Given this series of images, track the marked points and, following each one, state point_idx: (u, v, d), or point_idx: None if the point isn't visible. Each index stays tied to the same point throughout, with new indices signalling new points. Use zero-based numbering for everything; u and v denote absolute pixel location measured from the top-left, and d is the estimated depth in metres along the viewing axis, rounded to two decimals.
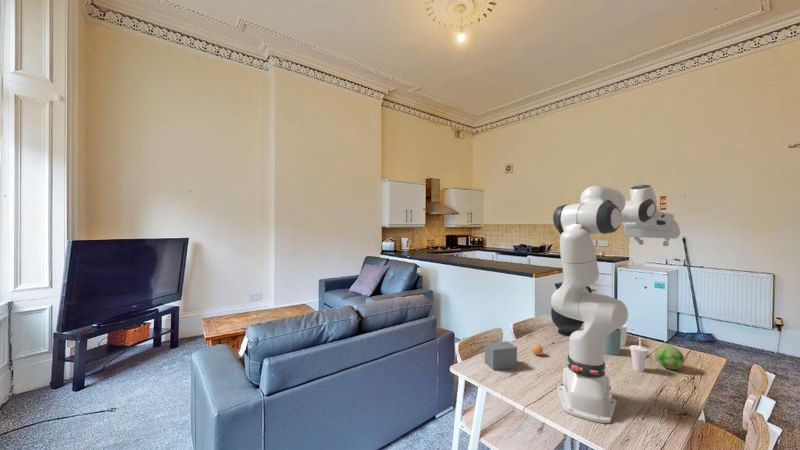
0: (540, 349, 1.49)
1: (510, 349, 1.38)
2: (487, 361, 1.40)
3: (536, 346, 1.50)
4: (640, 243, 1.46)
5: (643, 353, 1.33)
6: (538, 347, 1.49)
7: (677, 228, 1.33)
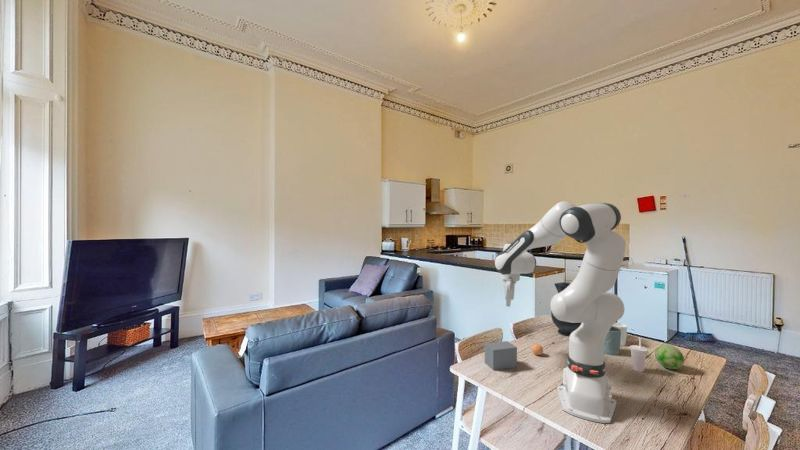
0: (540, 349, 1.49)
1: (510, 349, 1.38)
2: (487, 361, 1.40)
3: (536, 346, 1.50)
4: None
5: (643, 353, 1.33)
6: (538, 347, 1.49)
7: None
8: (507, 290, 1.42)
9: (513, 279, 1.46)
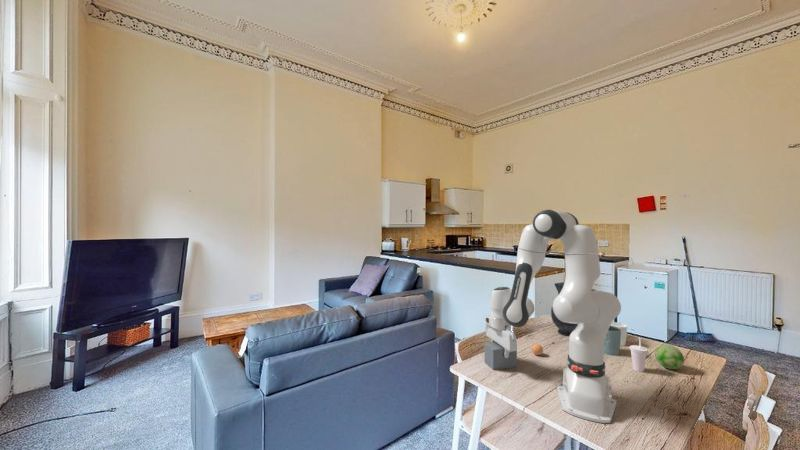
0: (540, 349, 1.49)
1: None
2: (487, 361, 1.41)
3: (536, 346, 1.50)
4: None
5: (643, 353, 1.33)
6: (538, 347, 1.49)
7: None
8: (510, 342, 1.31)
9: (508, 327, 1.37)
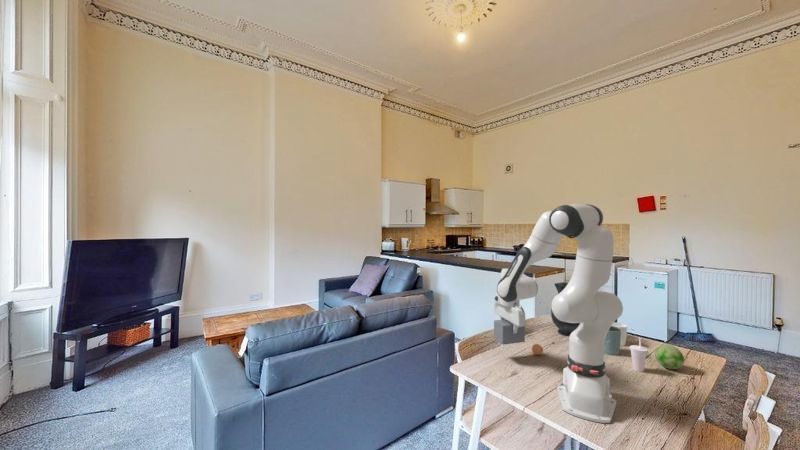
0: (540, 349, 1.49)
1: None
2: (496, 337, 1.47)
3: (536, 346, 1.50)
4: None
5: (643, 353, 1.33)
6: (538, 347, 1.49)
7: None
8: (519, 317, 1.38)
9: None
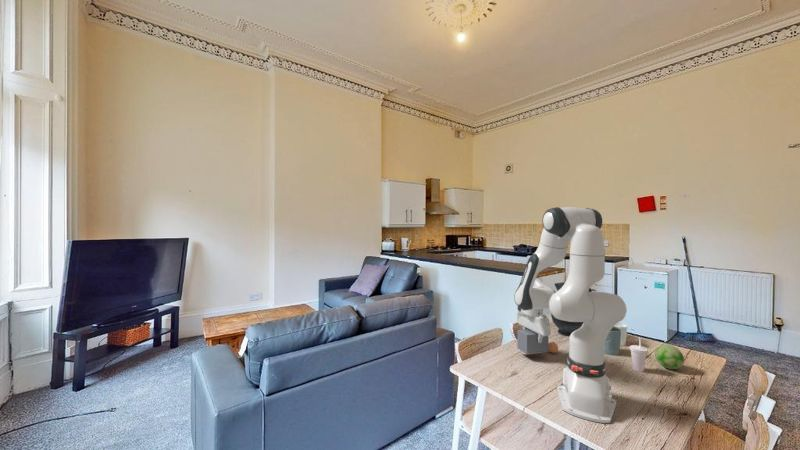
0: (555, 351, 1.51)
1: None
2: (520, 346, 1.49)
3: None
4: None
5: (643, 353, 1.33)
6: (555, 352, 1.52)
7: None
8: (545, 327, 1.40)
9: (541, 314, 1.46)
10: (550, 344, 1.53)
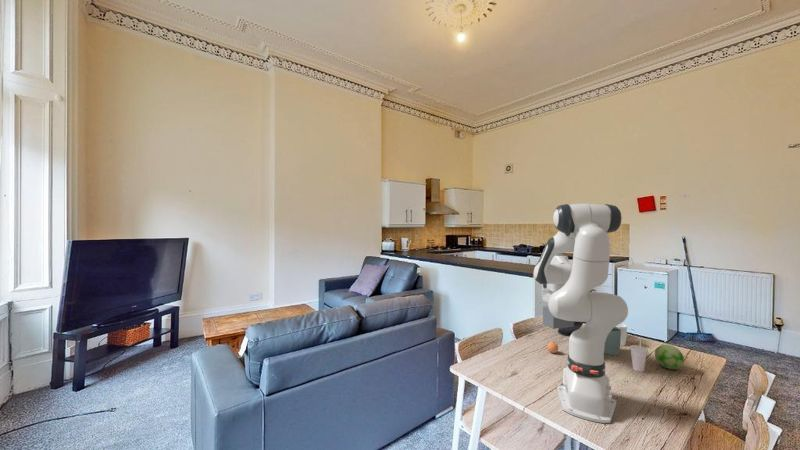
0: (555, 351, 1.51)
1: None
2: (546, 322, 1.54)
3: None
4: None
5: (643, 353, 1.33)
6: (555, 352, 1.52)
7: None
8: None
9: None
10: (550, 344, 1.53)
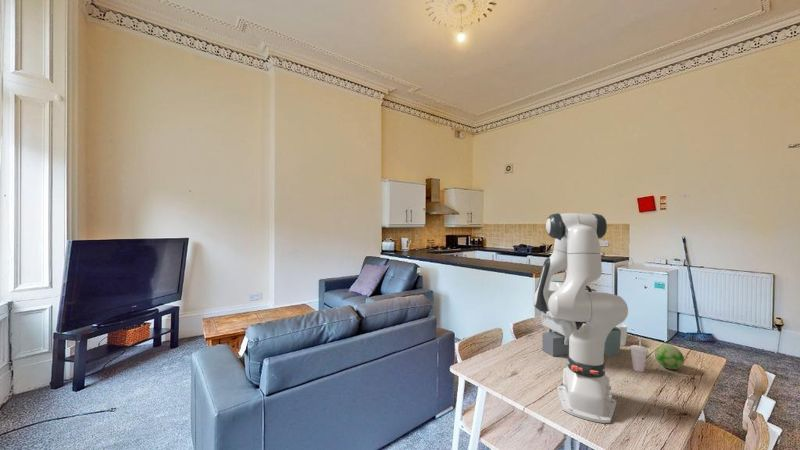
0: None
1: None
2: (545, 349, 1.54)
3: None
4: None
5: (643, 353, 1.33)
6: None
7: None
8: (571, 329, 1.44)
9: None
10: None
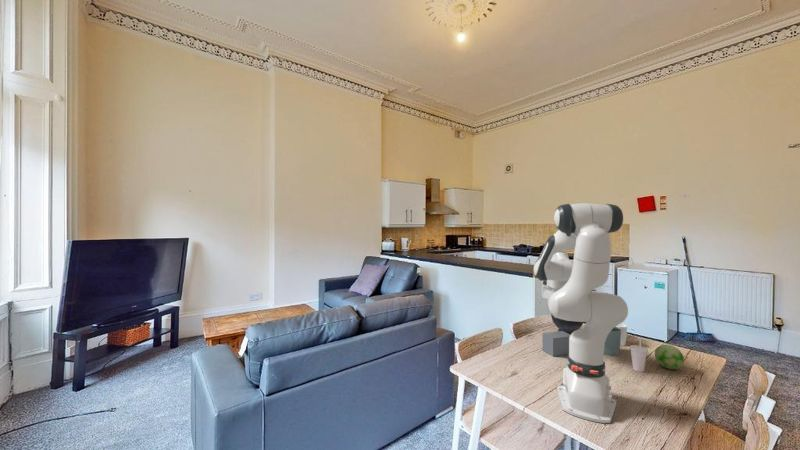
0: None
1: (567, 337, 1.51)
2: (545, 349, 1.54)
3: None
4: None
5: (643, 353, 1.33)
6: None
7: None
8: None
9: None
10: None
